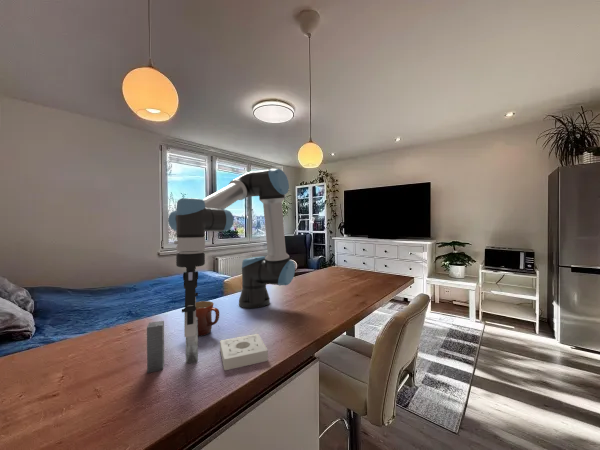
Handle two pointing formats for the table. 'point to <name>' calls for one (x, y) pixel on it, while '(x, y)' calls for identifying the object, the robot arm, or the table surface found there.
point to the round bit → (192, 347)
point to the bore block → (243, 351)
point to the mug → (205, 317)
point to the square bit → (155, 346)
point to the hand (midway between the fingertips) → (190, 326)
